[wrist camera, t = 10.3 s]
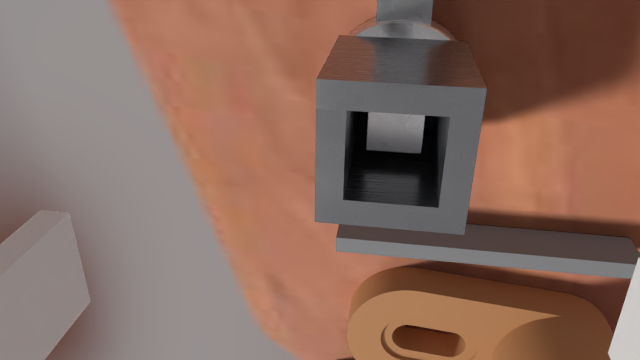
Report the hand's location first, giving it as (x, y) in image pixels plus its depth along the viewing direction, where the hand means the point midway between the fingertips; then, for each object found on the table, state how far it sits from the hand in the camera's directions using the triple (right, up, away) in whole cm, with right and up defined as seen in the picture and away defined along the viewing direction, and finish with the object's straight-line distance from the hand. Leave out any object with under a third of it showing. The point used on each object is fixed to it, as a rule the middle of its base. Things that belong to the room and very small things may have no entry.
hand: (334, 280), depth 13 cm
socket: (+4, +7, +16) cm, 18 cm away
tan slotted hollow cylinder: (+11, -8, +26) cm, 29 cm away
